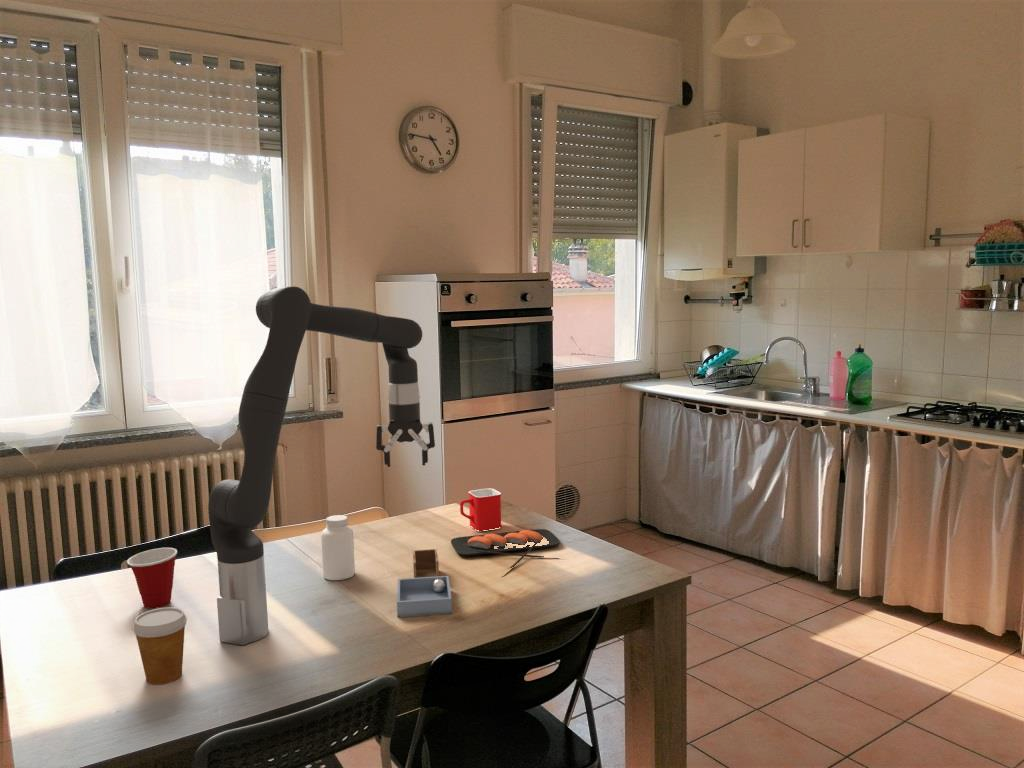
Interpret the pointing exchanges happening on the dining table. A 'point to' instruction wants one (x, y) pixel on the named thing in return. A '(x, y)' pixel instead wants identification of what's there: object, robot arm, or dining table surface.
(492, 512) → the mug
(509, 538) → the sushi plate
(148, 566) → the plastic cup
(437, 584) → the ball
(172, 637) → the disposable coffee cup
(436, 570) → the channel
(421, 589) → the dish
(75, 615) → the dining table surface
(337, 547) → the pill bottle
